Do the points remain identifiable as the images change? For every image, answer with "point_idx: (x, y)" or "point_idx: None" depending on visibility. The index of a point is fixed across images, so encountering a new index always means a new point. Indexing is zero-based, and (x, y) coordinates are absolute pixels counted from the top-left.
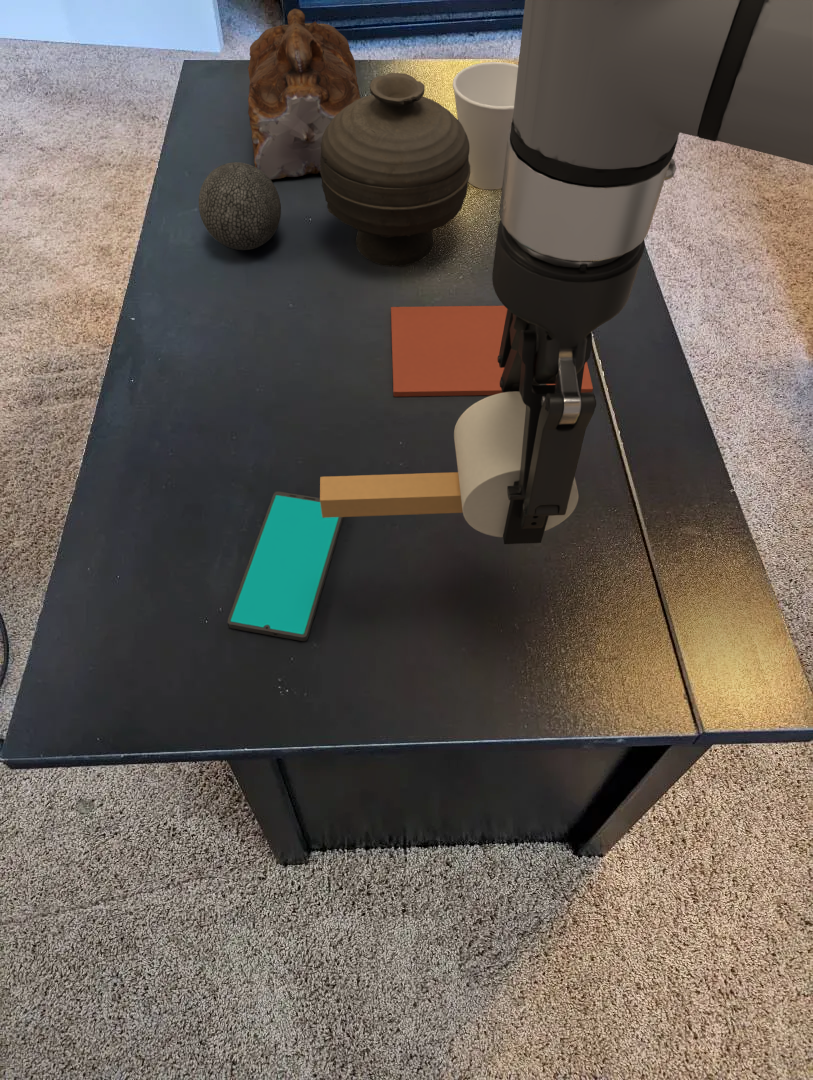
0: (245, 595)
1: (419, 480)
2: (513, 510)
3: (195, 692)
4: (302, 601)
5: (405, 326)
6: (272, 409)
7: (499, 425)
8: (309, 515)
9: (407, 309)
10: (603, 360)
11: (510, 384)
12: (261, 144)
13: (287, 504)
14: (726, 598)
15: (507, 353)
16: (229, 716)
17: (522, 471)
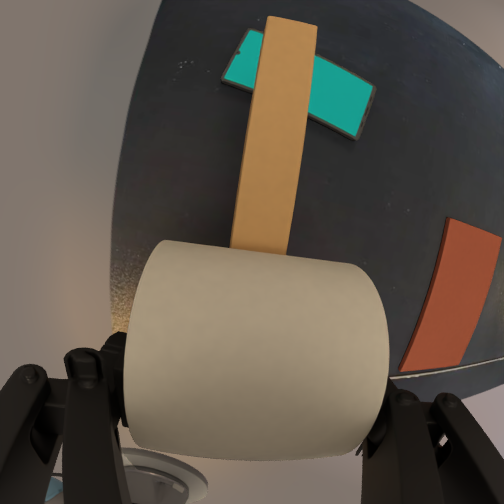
0: None
1: (281, 176)
2: None
3: (198, 12)
4: None
5: (489, 244)
6: (448, 117)
7: (288, 397)
8: (349, 106)
9: (497, 249)
10: (417, 378)
11: (388, 428)
12: None
13: (362, 92)
14: None
15: (449, 434)
16: (172, 31)
17: (83, 417)
